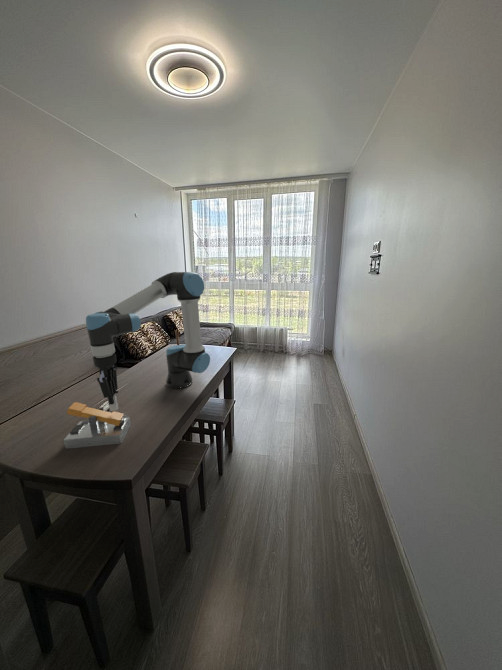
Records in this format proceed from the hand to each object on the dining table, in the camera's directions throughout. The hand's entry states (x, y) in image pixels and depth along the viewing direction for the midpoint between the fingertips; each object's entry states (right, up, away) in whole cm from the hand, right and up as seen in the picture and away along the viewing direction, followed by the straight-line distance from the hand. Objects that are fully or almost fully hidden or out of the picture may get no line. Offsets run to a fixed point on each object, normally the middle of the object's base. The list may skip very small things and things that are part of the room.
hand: (114, 409), depth 102 cm
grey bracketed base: (-6, -11, +2) cm, 13 cm away
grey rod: (-8, -9, +12) cm, 17 cm away
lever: (-7, -2, -1) cm, 7 cm away
